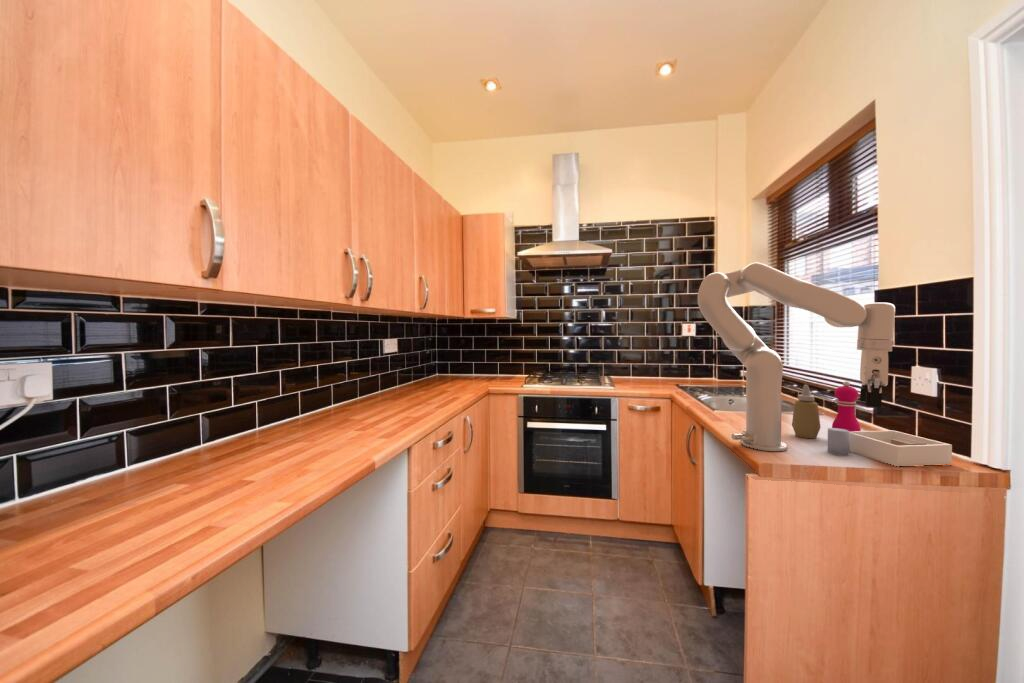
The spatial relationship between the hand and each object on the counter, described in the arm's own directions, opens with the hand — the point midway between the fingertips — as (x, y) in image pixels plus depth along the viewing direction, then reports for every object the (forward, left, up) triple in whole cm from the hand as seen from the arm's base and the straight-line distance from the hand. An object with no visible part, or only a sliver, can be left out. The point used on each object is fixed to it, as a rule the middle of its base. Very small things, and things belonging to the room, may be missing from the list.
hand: (870, 403), depth 114 cm
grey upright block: (-6, +4, -16) cm, 17 cm away
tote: (+7, -1, -16) cm, 17 cm away
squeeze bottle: (-1, +22, -16) cm, 27 cm away
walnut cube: (+7, -5, -15) cm, 17 cm away
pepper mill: (+7, +15, -16) cm, 23 cm away
